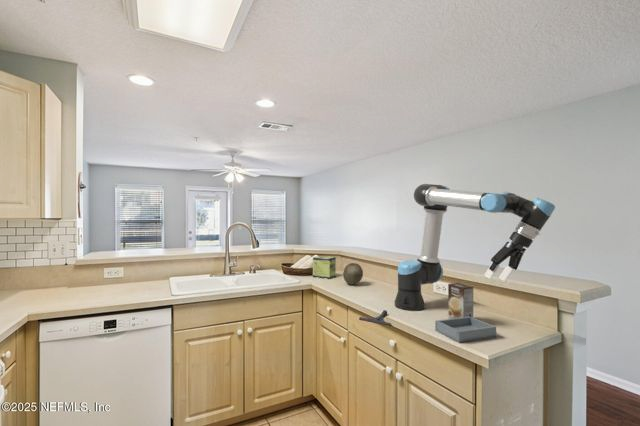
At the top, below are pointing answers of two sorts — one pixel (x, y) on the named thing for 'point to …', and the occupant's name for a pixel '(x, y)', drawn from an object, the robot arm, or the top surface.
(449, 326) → the tray
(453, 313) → the coffee box
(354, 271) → the dark brown ball
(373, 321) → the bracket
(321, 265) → the protein box
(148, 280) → the top surface
